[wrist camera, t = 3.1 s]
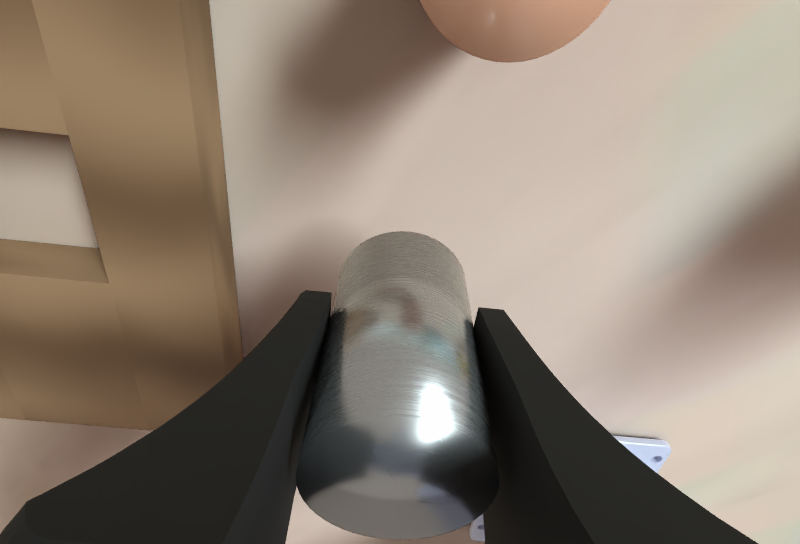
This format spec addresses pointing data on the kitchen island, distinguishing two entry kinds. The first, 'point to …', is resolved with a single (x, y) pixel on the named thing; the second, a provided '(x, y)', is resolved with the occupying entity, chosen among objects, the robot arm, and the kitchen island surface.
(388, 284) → the steel pin
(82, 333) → the wooden board with hole
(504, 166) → the kitchen island surface
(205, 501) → the robot arm
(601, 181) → the kitchen island surface
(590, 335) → the kitchen island surface
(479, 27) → the terracotta pin
